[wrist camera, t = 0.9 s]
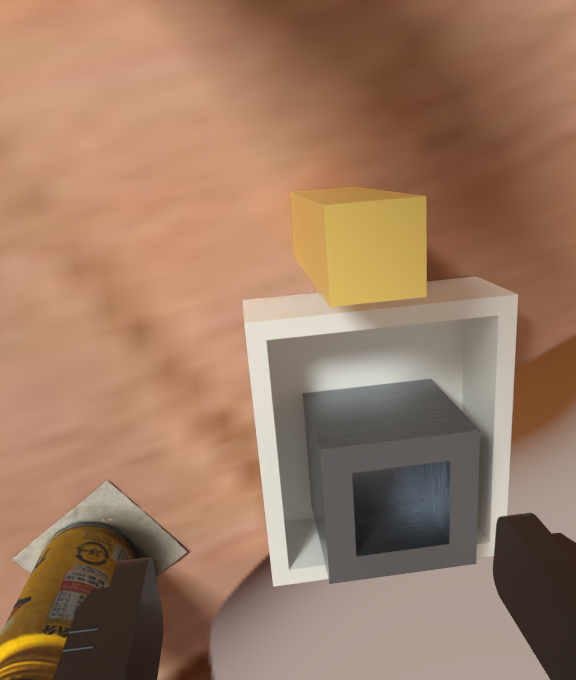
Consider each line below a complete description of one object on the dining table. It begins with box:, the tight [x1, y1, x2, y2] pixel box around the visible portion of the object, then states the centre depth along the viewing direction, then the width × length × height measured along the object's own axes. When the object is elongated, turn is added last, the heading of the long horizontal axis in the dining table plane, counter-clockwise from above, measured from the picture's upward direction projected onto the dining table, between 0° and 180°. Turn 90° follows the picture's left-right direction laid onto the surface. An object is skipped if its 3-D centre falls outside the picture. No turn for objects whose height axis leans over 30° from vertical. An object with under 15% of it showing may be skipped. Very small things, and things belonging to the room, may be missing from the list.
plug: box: [289, 186, 427, 307], centre depth 25 cm, size 4×4×12 cm
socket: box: [303, 379, 480, 584], centre depth 31 cm, size 8×8×7 cm
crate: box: [243, 276, 518, 586], centre depth 32 cm, size 16×14×5 cm
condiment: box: [0, 481, 187, 680], centre depth 30 cm, size 7×8×12 cm
